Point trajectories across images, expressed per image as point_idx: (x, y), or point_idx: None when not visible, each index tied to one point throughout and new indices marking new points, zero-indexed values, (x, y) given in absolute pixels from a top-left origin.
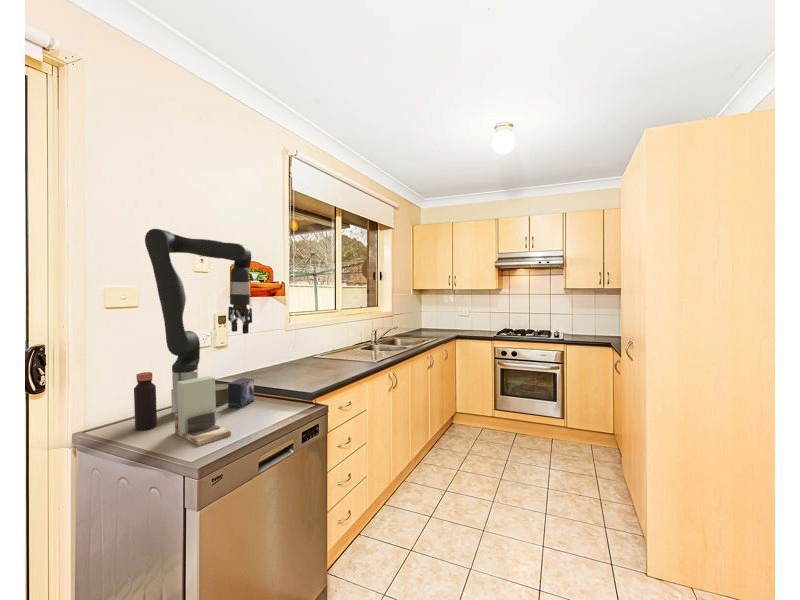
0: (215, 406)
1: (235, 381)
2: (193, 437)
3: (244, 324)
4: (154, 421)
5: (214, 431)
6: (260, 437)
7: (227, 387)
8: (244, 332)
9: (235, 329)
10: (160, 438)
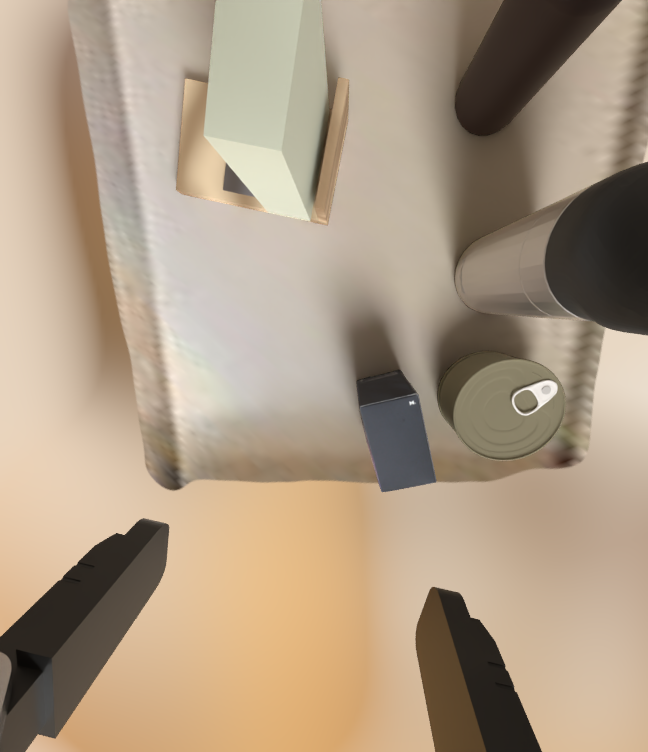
0: (252, 192)
1: (408, 424)
2: None
3: (12, 667)
4: (463, 101)
5: (215, 162)
6: (104, 225)
7: (467, 429)
8: (136, 535)
9: (428, 646)
10: (346, 62)
